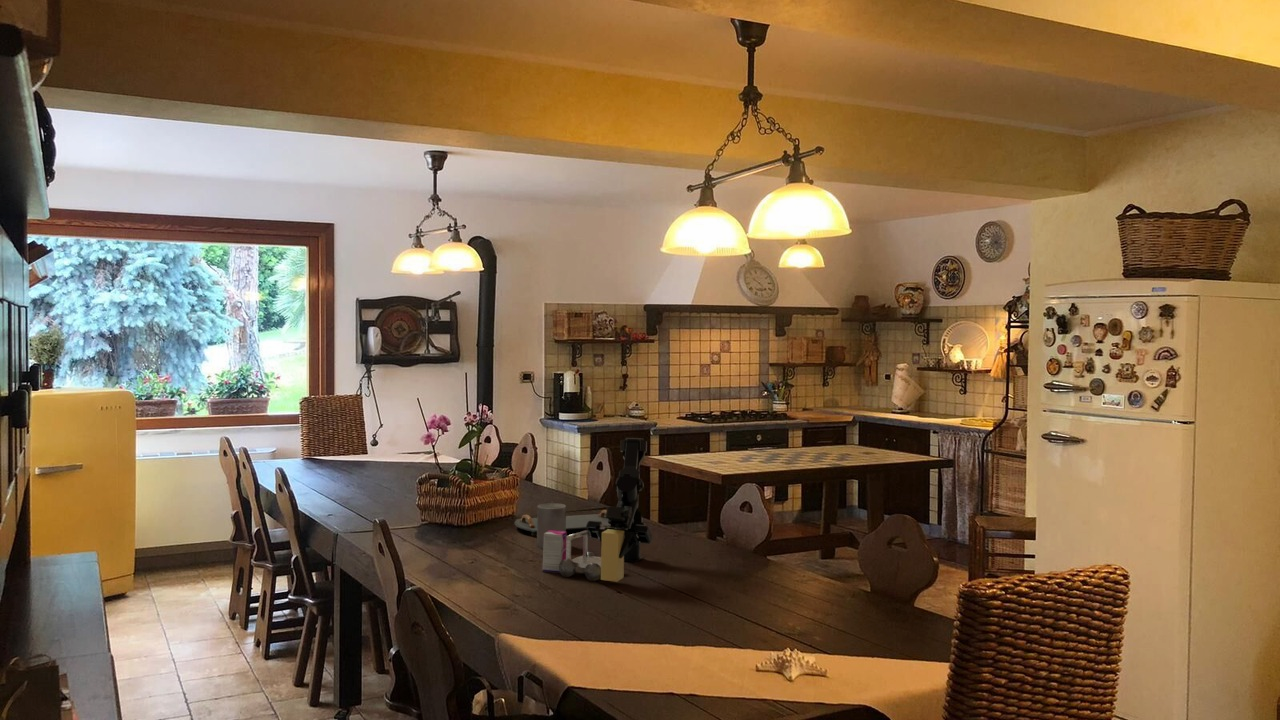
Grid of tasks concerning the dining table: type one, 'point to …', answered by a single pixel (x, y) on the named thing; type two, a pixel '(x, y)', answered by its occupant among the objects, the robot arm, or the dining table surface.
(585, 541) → the trolley
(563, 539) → the supplement box
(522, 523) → the serving board
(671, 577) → the dining table surface
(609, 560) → the tall yellow block
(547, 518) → the pillar candle
